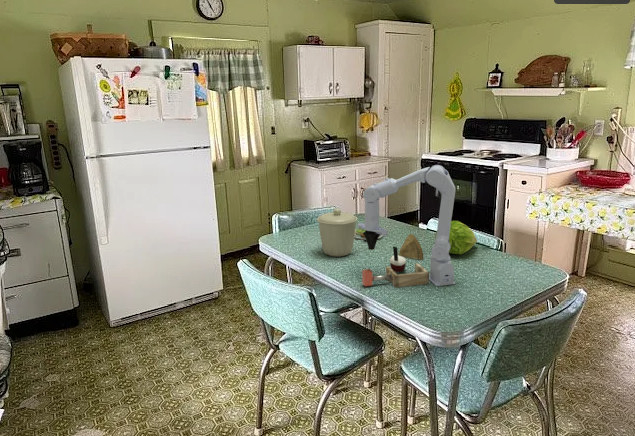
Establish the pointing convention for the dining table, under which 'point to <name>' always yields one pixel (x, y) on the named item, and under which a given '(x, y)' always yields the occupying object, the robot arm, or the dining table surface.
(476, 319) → the dining table surface
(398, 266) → the cocoa
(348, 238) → the canister
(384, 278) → the lock pin
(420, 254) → the rock
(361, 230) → the salad plate
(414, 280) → the dock
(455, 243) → the lettuce
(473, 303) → the dining table surface
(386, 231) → the robot arm
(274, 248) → the dining table surface
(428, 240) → the dining table surface
